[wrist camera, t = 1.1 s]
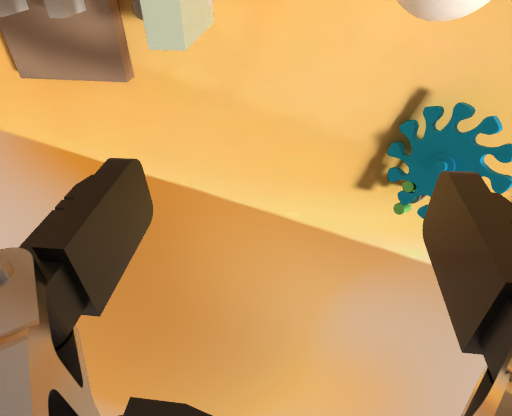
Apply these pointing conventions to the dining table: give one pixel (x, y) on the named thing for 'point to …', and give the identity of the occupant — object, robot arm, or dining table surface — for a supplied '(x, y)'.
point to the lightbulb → (441, 8)
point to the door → (174, 21)
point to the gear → (445, 155)
